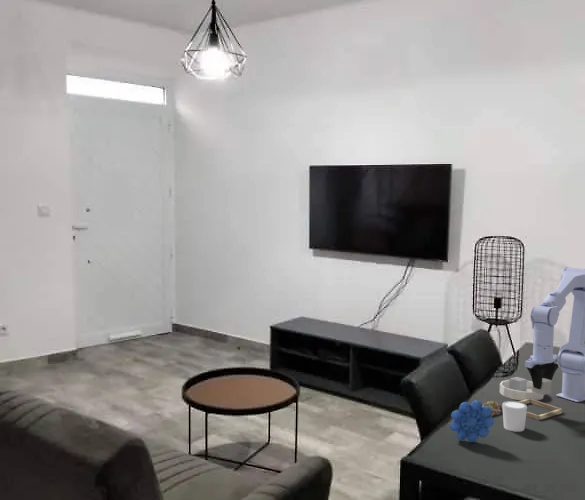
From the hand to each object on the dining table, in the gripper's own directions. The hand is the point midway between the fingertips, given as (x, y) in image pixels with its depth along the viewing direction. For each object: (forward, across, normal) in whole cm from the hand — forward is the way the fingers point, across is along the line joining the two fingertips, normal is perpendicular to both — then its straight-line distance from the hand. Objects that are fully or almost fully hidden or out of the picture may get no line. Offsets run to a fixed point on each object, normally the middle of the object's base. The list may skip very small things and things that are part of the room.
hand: (541, 386), depth 185 cm
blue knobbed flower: (+9, +36, +4) cm, 37 cm away
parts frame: (+8, 0, -2) cm, 9 cm away
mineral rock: (+9, +13, -10) cm, 19 cm away
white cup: (+9, +18, +4) cm, 20 cm away
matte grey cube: (+8, -12, -17) cm, 22 cm away
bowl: (+8, -10, -15) cm, 20 cm away
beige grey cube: (+2, 0, 0) cm, 2 cm away
